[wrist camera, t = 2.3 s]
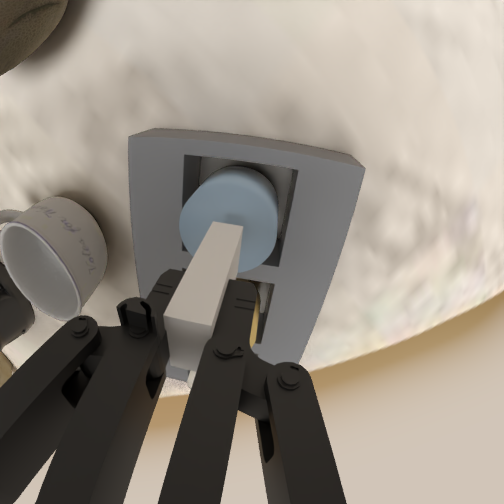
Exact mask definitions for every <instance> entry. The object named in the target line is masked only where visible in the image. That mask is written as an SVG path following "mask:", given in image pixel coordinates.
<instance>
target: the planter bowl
mask: <svg viewBox="0 0 504 504" xmlns="http://www.w3.org/2000/svg"><path fill="white" fill-rule="evenodd" d="M12 368H13V367H12V364H11V363H10V361H9V360H8V359H7V358H6V356H4V354H3V353H2V352H1V351H0V387H1V386H2V385H3V384H4V383H5V382H6V381H7V380H8V379H9V378H10V377H11V376H12V372H11V370H12Z"/></svg>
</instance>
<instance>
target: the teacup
mask: <svg viewBox="0 0 504 504" xmlns="http://www.w3.org/2000/svg"><path fill="white" fill-rule="evenodd" d="M6 222H9V223H7V224H6V225H5V226H4V227H3V229H2V230H0V250H1V255H2V258H3V261H4V264H5V267H6V269H7V271H8V273H9V275H10V277H11V278H12V280H13V281H14V283H15V285H16V286H17V287H18V289H19V290H20V291H21V292H22V294H23V295H24V296H25V297H26V298H27V299H28V300H29V301H30V302H31V303H32V304H33V305H34V306H35V307H37V308H38V309H39V310H41V311H42V312H43V313H45V314H47V315H48V316H51V317H53V318H55V319H58V320H62V321H69V320H71V319H72V318H74V317H77V316H79V314H80V312H81V309H82V307H83V306H84V304H85V303H86V302H87V300H88V299H89V297H90V296H91V295H92V293H93V292H94V290H95V289H96V287H97V286H98V284H99V283H100V281H101V279H102V277H103V275H104V273H105V270H106V266H107V258H108V256H107V247H106V243H105V239H104V237H103V234H102V232H101V230H100V228H99V225H98V224H97V222H96V221H95V219H94V218H93V216H92V215H91V214H90V213H89V212H88V211H87V210H86V209H84V208H83V207H82V206H81V205H79V204H78V203H76V202H74V201H73V200H70V199H68V198H64V197H50V198H47V199H44V200H42V201H40V202H38V203H36V204H35V205H33V206H32V207H30V208H29V209H28V210H26V211H25V212H21V211H17V210H2V211H0V224H3V223H6Z"/></svg>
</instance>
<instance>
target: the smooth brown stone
mask: <svg viewBox="0 0 504 504" xmlns="http://www.w3.org/2000/svg"><path fill="white" fill-rule="evenodd" d="M67 3H68V0H0V76H1V75H3V74H4V73H6V72H7V71H9V70H11V69H12V68H14V67H15V66H17V65H18V64H19V63H21V62H22V61H23V60H25V59H26V58H27V57H29V56H30V55H31V54H32V53H33V52H34V51H35V50H36V49H37V48H38V47H39V46H40V45H41V44H42V43H43V42H44V41H45V40H46V39H47V38H48V36H49V35H50V34H51V33H52V31H53V30H54V29H55V27H56V26H57V25H58V23H59V22H60V20H61V18H62V16H63V15H64V12H65V10H66V7H67Z"/></svg>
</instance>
